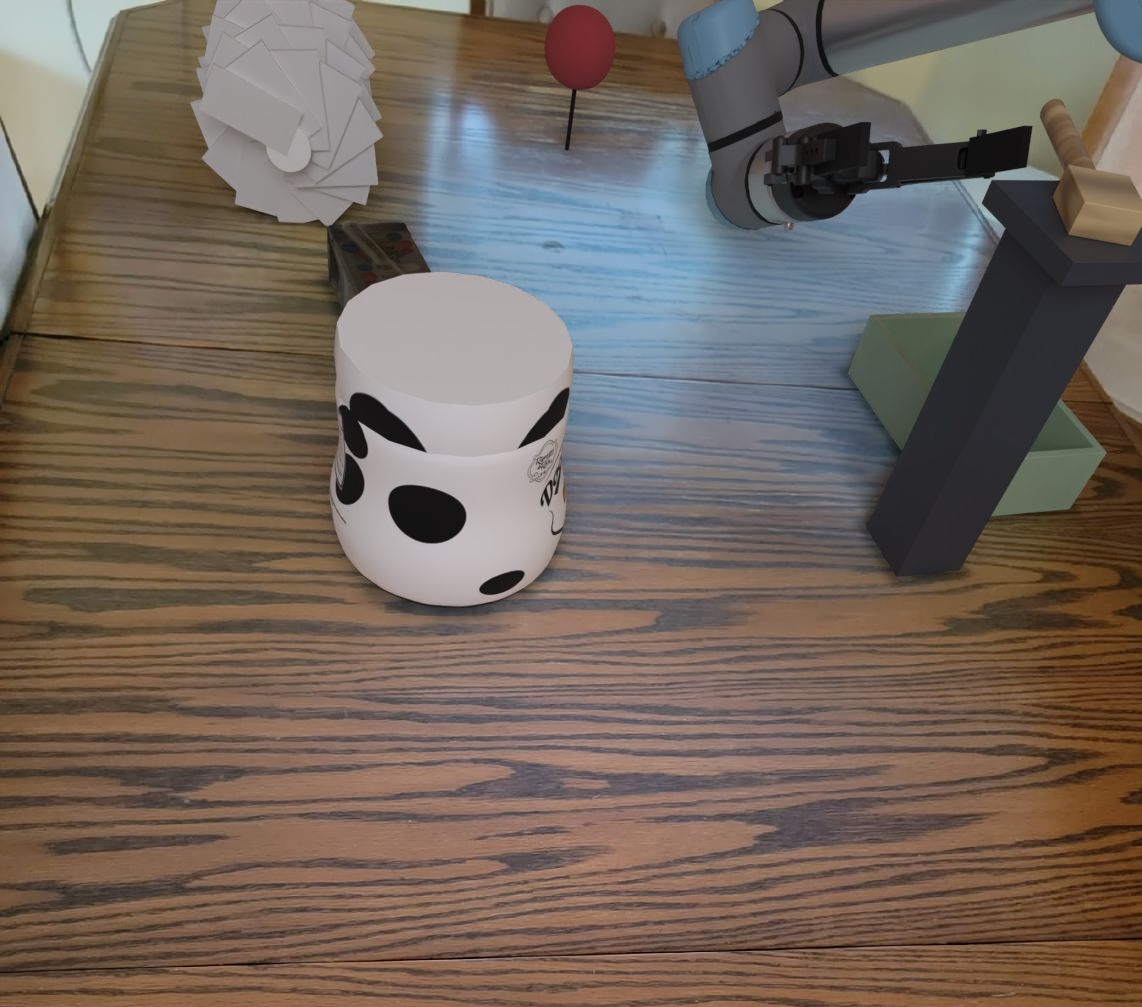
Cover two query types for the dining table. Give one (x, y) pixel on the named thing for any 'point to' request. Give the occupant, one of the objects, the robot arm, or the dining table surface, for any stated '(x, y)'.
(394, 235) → the beverage carton
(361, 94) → the spiral staircase
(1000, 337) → the dark capped post
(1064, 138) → the wooden mallet
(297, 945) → the dining table surface
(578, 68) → the lollipop
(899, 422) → the bin
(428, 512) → the milk container
